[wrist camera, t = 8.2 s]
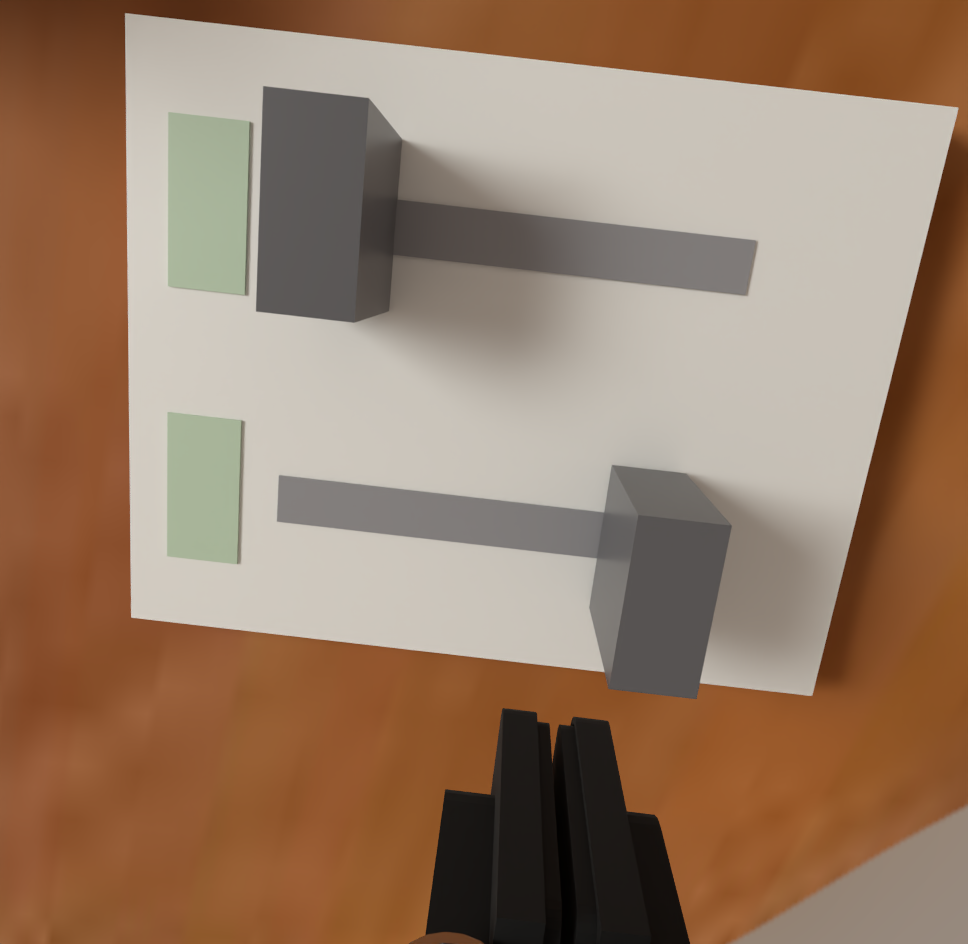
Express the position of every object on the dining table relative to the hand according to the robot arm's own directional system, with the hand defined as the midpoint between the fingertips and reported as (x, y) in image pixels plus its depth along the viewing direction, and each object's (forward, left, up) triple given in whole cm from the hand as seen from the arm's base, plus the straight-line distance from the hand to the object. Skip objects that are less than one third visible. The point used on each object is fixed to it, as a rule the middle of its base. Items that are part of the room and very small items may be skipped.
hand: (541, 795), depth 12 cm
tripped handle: (-4, 0, -14) cm, 14 cm away
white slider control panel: (+1, -4, -16) cm, 16 cm away
